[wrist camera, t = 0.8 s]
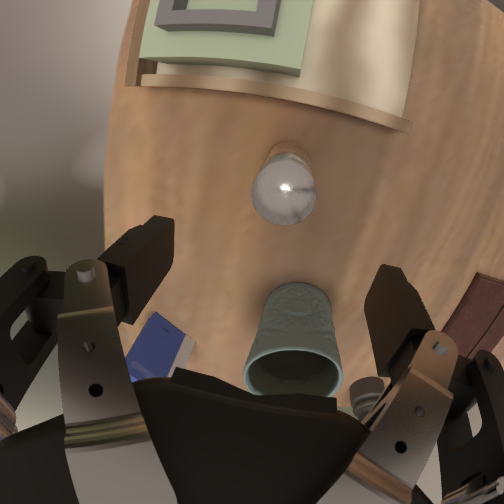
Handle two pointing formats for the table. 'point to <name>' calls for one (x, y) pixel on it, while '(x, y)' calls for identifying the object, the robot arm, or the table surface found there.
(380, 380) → the candle holder
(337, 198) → the table surface
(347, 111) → the bay
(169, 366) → the walkman
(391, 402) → the robot arm
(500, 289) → the notebook
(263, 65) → the green stepped block
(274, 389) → the teal cup
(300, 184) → the handle
